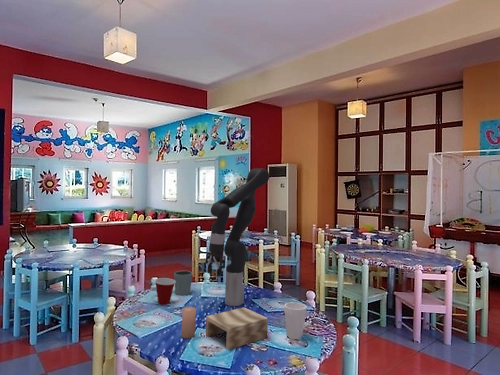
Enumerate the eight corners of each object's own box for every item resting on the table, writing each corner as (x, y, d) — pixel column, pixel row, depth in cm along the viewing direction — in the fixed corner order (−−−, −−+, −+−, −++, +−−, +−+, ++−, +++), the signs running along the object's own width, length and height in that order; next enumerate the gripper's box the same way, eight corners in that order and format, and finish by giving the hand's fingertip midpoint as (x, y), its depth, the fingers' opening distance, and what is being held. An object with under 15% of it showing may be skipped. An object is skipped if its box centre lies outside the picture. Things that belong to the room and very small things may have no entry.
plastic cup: (169, 307, 180) (170, 283, 180) (149, 305, 182) (150, 281, 182) (178, 301, 191) (179, 278, 191) (159, 299, 193) (160, 276, 193)
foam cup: (291, 343, 144) (292, 310, 144) (278, 334, 153) (280, 303, 153) (310, 339, 149) (311, 308, 149) (297, 330, 157) (298, 301, 157)
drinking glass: (194, 292, 208) (195, 271, 208) (185, 297, 198) (186, 275, 198) (179, 290, 211) (179, 269, 211) (169, 294, 201) (170, 273, 201)
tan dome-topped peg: (190, 331, 152) (191, 305, 152) (197, 336, 147) (198, 309, 147) (179, 334, 148) (180, 308, 148) (185, 339, 144) (186, 312, 144)
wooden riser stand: (243, 325, 161) (244, 307, 161) (267, 337, 149) (267, 318, 149) (205, 335, 149) (206, 316, 149) (228, 349, 136) (229, 328, 136)
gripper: (231, 244, 179) (228, 277, 179) (215, 240, 190) (212, 271, 189) (218, 244, 174) (215, 278, 174) (203, 240, 185) (200, 272, 185)
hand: (213, 274), depth 182 cm, fingers open, 8 cm apart
